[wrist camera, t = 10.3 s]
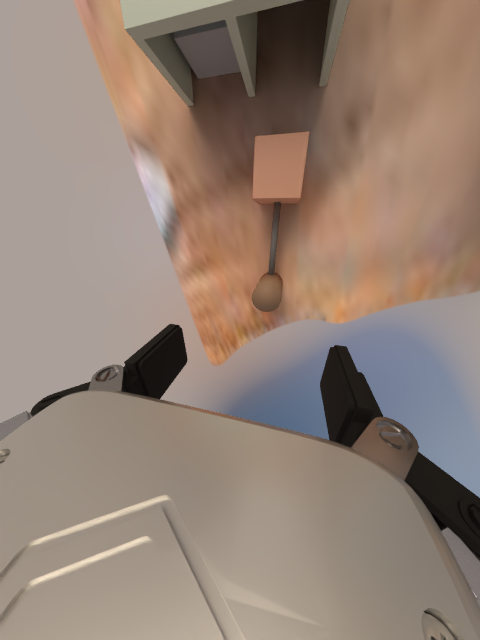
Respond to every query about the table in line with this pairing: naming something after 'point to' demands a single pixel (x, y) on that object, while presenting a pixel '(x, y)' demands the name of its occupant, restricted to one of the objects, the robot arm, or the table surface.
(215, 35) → the plain block
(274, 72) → the table surface
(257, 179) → the corded block
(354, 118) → the table surface
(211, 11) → the cubby shelf
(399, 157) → the table surface
